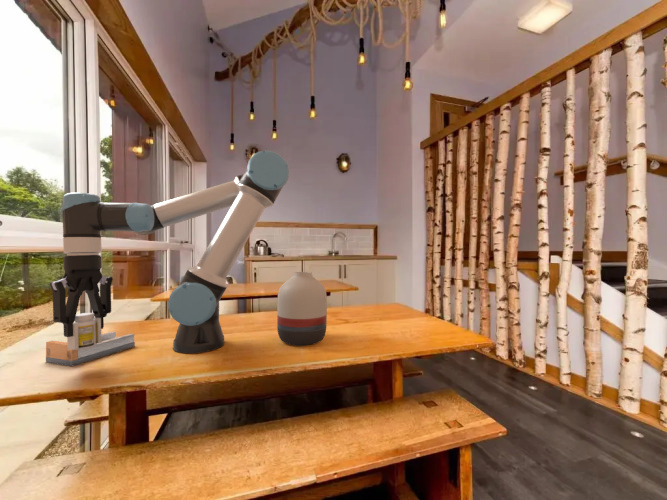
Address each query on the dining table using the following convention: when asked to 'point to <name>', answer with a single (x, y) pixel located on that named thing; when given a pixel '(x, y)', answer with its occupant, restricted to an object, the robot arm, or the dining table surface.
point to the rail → (87, 350)
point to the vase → (302, 310)
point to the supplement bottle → (86, 330)
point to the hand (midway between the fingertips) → (85, 345)
